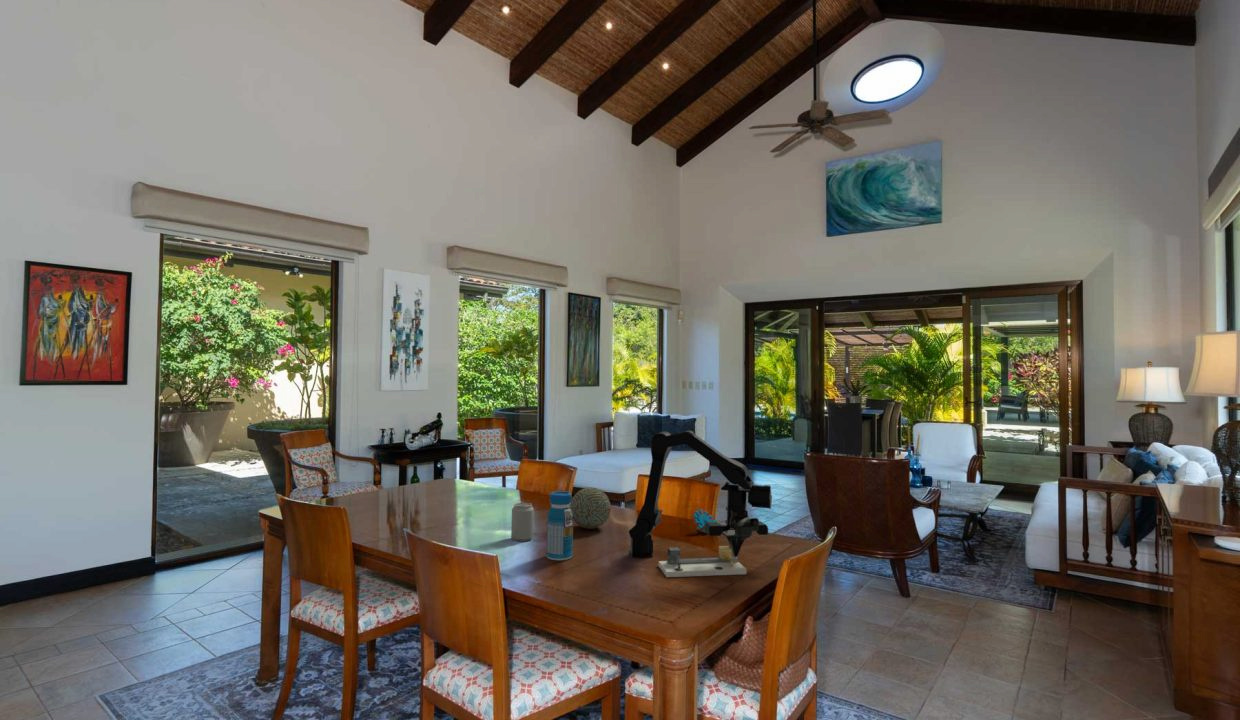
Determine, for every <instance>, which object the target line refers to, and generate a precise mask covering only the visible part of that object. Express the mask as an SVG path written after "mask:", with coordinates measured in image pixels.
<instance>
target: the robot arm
mask: <svg viewBox="0 0 1240 720" xmlns="http://www.w3.org/2000/svg"><path fill="white" fill-rule="evenodd" d="M682 445H686V446H688V447H689V448H690V449H692V450H693V451H695V452H696V453H698V454H699V455H700V456H701V457H702V458H704V459H705V460H707V461H708V462H709V463H711V464H712V465H714V466H715V467H716V468H717V469H718V470H719V471H720V473H721V474H722V476H723V477H724V478H725V479H726V480H727V481H726V482H725V484H724V485H723V486H721V487H720V490H721V491H727V501H726V506H725V511H726V519H725V524H724V525H723V524H720V523H719V522H718V521H717V522H706V523H705V525H704V528H703V530H704V531H705V532H706V533H705V534H707V535H708V536H711V537H719V536H721V535H723V536H724V537H726V539H727V541H728V544H729V547H730V548H732V557H737V558H738V557H739V553H740V551H741V548H742V546H743V544H744V542H745V540H746V539H748V538H750V537H751V536H753V532H755V533H756V534H758V535H759V536H763V535H764V536H766V535H767V536H768V535H769V526H768V525H767V524H765V523H764V522H762V521H761V520H759V518H757V517H754V518H753V517H752V518H750V517H749V513H748V510H747V503H748V504H749V506H750V505H751V507H752V508H759V509H768V510H769V509H770V510H771V509H772V503H773V502H772V501H773V499H772V498H773V495H772V490H771V489H772V485H770V484H769V485H768V484H766V485H763V484H762V485H761V484H755V483H754V481H753V480H752V479H751V477H750V475H749V472H748V470H749V469H748V468H747V466H746V465H745V464H743V463H741V462H740V461H738V460H735V459H733V458H731V457H728V456H726V455H724V454H723V453H721V452H720V451H719V450H717V449H716V448H714V447H713V446H712V445H711V444H709V443H708V442H706V441H705V440H703V438H701V437H700V436H699V435H697V434H696V433H695V432H694V431H693V430H686V431H680V432H673V433H670V432H668V431H660V432H657V433H655V434H654V435H653V436H652V438H651V439H650V454H651V465H650V470H649V474H648V475H649V476H648V481H647V487H646V491H645V498H644V502H643V505H642V506H641V509H640V511H639V513H638V516H637V518H636V521H635V525H634V526H633V527H632V528H631V529H630V530H628V533H629V534H628V535H629V538H630V547H629V548H630V549H629V550H628V552H629V553H630V555H631V557H632V558H652V557H654V556H653V553H654V540H653V539H652V535H651V533H653V531H654V529H655V528H657V526H658V525H659V524H660V523H662V521H661V517H662V513H663V509H659V504H658V503H659V498H660V492H661V489H662V483H663V477H664V472H665V466H666V461H667V459H668V457H669V456H670V453H671V451H672V448H674V447H676V446H682Z"/></svg>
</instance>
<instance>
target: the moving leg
mask: <svg viewBox="0 0 1240 720" xmlns="http://www.w3.org/2000/svg"><path fill="white" fill-rule="evenodd" d="M732 557H733V553H732V548H731V547H730V545H719V546H718V558H722V559H726V560H727V561H729V562H730V563H731V567H733V560H732Z"/></svg>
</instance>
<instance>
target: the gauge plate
mask: <svg viewBox="0 0 1240 720" xmlns="http://www.w3.org/2000/svg"><path fill="white" fill-rule="evenodd" d="M680 565H681V567H680V568H678V565H677V564H667V560H660V561H659V560H658V567H659V569H660V570H661V571H662V573H663V574H664V576H665V577H666V578H678V577H679V578H680V577H683V578H684V577H705V576H706V577H707V576H708V577H709V576H731V575H733V576H734V575H747V567H745V566H743V565H742V564H741V563H740V562H739V561H738V562H733V567H731V563H730V562H723V563H693V564H680Z"/></svg>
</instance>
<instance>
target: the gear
mask: <svg viewBox="0 0 1240 720" xmlns="http://www.w3.org/2000/svg"><path fill="white" fill-rule="evenodd" d="M708 513H709V512H708V511H707V510H703V509H699V510H696V511H695V512H694V515H693V519H694V522H693V523H694V524H695V525H696V524H698V525H697V528H696V530H697V531H700V529H702V528H703V530H702V532H703V533H704V534H707V533H706V532H705V531H704V525H705V523H706V522H717V523H718V519H717V518H715V519H713V515H712V514H709V515H707V514H708Z"/></svg>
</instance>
